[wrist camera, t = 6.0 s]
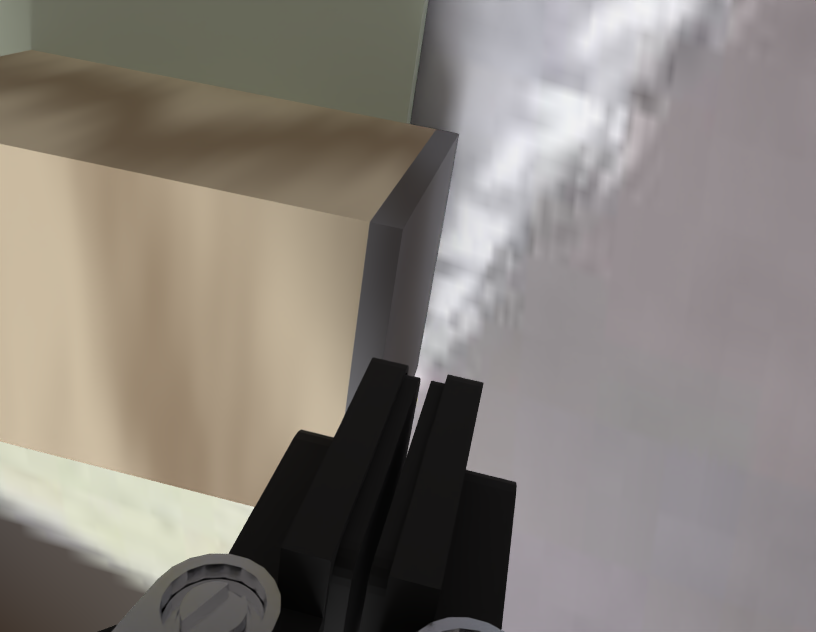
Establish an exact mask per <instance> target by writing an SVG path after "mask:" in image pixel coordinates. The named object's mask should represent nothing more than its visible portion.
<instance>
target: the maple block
mask: <svg viewBox="0 0 816 632" xmlns="http://www.w3.org/2000/svg"><path fill="white" fill-rule="evenodd" d="M458 136H459V134H458V133H453V132H448V131H443V130H437V129H432V128H427V127H422V126H417V125H412V124H407V123H402V122H397V121H392V120H387V119H381V118H376V117H371V116H366V115H361V114H356V113H351V112H346V111H341V110H336V109H330V108H325V107H320V106H315V105H310V104H305V103H300V102H295V101H290V100H285V99H280V98H274V97H269V96H264V95H259V94H254V93H249V92H244V91H239V90H234V89H229V88H224V87H218V86H213V85H208V84H203V83H198V82H193V81H188V80H183V79H178V78H173V77H168V76H162V75H157V74H152V73H147V72H142V71H137V70H132V69H127V68H122V67H117V66H111V65H106V64H101V63H96V62H91V61H86V60H81V59H76V58H71V57H66V56H61V55H55V54H50V53H45V52H40V51H35V50H28V51H23V52H18V53H14V54H9V55H4V56H0V441H1V442H5V443H9V444H12V445H16V446H20V447H24V448H28V449H32V450H36V451H40V452H44V453H47V454H51V455H55V456H59V457H63V458H67V459H71V460H75V461H78V462H82V463H86V464H90V465H94V466H98V467H102V468H106V469H110V470H113V471H117V472H121V473H125V474H129V475H133V476H137V477H141V478H145V479H148V480H152V481H156V482H160V483H164V484H168V485H172V486H176V487H180V488H183V489H187V490H191V491H195V492H199V493H203V494H207V495H211V496H215V497H218V498H222V499H226V500H230V501H234V502H238V503H242V504H246V505H250V506H253V507H255V506H256V504H257V502H258V500H259V499H260V497H261V495H262V493H263V491H264V490H265V488H266V486H267V484H268V483H269V481H270V479H271V477H272V475H273V474H274V472H275V470H276V468H277V466H278V465H279V463H280V461H281V459H282V458H283V456H284V454H285V452H286V450H287V449H288V447H289V445H290V443H291V441H292V440H293V438H294V436H295V435H296V434H297V432H298V431H300V430H301V429H302V430H306V431H310V432H314V433H318V434H322V435H326V436H330V437H334V436H335V434H336V432H337V430H338V428H339V426H340V424H341V421H342V419H343V417H344V415H345V413H346V411H347V409H348V407H349V405H350V403H351V401H352V399H353V397H354V394H355V392H356V390H357V388H358V386H359V384H360V382H361V380H362V378H363V376H364V374H365V372H366V369H367V367H368V365H369V363H370V361H371V359H372V358H373V357H375V358H379V359H384V360H388V361H392V362H397V363H401V364H405V365H409V372H408V375H410V376H415V373H416V370H417V367H418V361H419V355H420V350H421V344H422V338H423V333H424V327H425V322H426V316H427V310H428V305H429V299H430V294H431V288H432V282H433V277H434V271H435V266H436V260H437V254H438V249H439V243H440V237H441V232H442V226H443V221H444V215H445V209H446V204H447V198H448V193H449V187H450V181H451V176H452V170H453V165H454V159H455V153H456V148H457V142H458Z"/></svg>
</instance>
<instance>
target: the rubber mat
mask: <svg viewBox="0 0 816 632" xmlns="http://www.w3.org/2000/svg"><path fill="white" fill-rule="evenodd" d="M427 7H428V0H0V56H4V55H9V54H14V53H18V52H23V51H28V50H35V51H40V52H45V53H50V54H55V55H61V56H66V57H71V58H76V59H81V60H86V61H91V62H96V63H101V64H106V65H111V66H117V67H122V68H127V69H132V70H137V71H142V72H147V73H152V74H157V75H162V76H168V77H173V78H178V79H183V80H188V81H193V82H198V83H203V84H208V85H213V86H218V87H224V88H229V89H234V90H239V91H244V92H249V93H254V94H259V95H264V96H269V97H274V98H280V99H285V100H290V101H295V102H300V103H305V104H310V105H315V106H320V107H325V108H330V109H336V110H341V111H346V112H351V113H356V114H361V115H366V116H371V117H376V118H381V119H387V120H392V121H397V122H402V123H407V124H410V121H411V114H412V107H413V101H414V94H415V87H416V81H417V74H418V67H419V61H420V54H421V47H422V40H423V34H424V27H425V20H426V14H427Z"/></svg>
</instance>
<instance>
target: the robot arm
mask: <svg viewBox="0 0 816 632" xmlns="http://www.w3.org/2000/svg"><path fill="white" fill-rule="evenodd" d="M408 372H409V365H405V364H401V363H397V362H392V361H388V360H384V359H379V358H375V357H373V358H372V359H371V361H370V363H369V365H368V367H367V369H366V372H365V374H364V376H363V378H362V380H361V382H360V384H359V386H358V388H357V390H356V392H355V394H354V397H353V399H352V401H351V403H350V405H349V407H348V409H347V411H346V413H345V415H344V417H343V419H342V421H341V424H340V426H339V428H338V430H337V432H336V434H335V436H334V437H330V436H326V435H322V434H318V433H314V432H310V431H306V430H302V429H301V430H300V431H298V432H297V434H296V435H295V436H294V438H293V440H292V441H291V443H290V445H289V447H288V449H287V450H286V452H285V454H284V456H283V458H282V459H281V461H280V463H279V465H278V466H277V468H276V470H275V472H274V474H273V475H272V477H271V479H270V481H269V483H268V484H267V486H266V488H265V490H264V491H263V493H262V495H261V497H260V499H259V500H258V502H257V504H256V506H255V508H254V509H253V511H252V513H251V515H250V516H249V518H248V520H247V522H246V524H245V525H244V527H243V529H242V531H241V532H240V534H239V536H238V538H237V540H236V541H235V543H234V545H233V547H232V549H231V550H230V552H229V554H207V555H202V556H198V557H193V558H190V559H187V560H185V561H183V562H181V563H179V564H177V565H175V566H173V567H172V568H170V569H169V570H168V571H167V572H166V573H164V574H163V575H162V576H161V577H160V578H159V579H157V581H156V582H155V583H154V584H153V585H152V586H151V587H150V589H149V590H148V591H147V592H146V593H145V594H144V595H143V597H142V598H141V599H140V600H139V601H138V602H137V603H136V604H135V606H134V607H133V608H132V609H131V610H130V611H129V612H128V613H127V615H126V616H125V617H124V618H123V619H122V620H121V622H120V623H119V624H118V625H115V626H112V627H109V628H107V629H104V630H101V631H99V632H504V631H502V630H501V629H502V620H503V611H504V601H505V592H506V582H507V573H508V564H509V554H510V545H511V536H512V526H513V517H514V508H515V498H516V487H517V485H516V482H513V481H509V480H505V479H501V478H497V477H493V476H489V475H485V474H480V473H476V472H472V471H468V470H466V466H467V461H468V456H469V451H470V446H471V442H472V437H473V432H474V427H475V422H476V417H477V412H478V407H479V403H480V398H481V393H482V388H483V383H482V382H478V381H474V380H469V379H465V378H461V377H457V376H452V375H447V379H446V382H445V384H444V383H440V382H435V381H431V383H430V386H429V389H428V393H427V396H426V399H425V402H424V405H423V408H422V411H421V414H420V417H419V420H418V423H417V427H416V430H415V433H414V436H413V439H412V442H411V445H410V448H409V451H408V445H409V440H410V435H411V429H412V424H413V419H414V413H415V408H416V402H417V397H418V392H419V386H420V378H418V377H414V376H410V375H408ZM407 451H408V454H407ZM406 456H407V457H406Z"/></svg>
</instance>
